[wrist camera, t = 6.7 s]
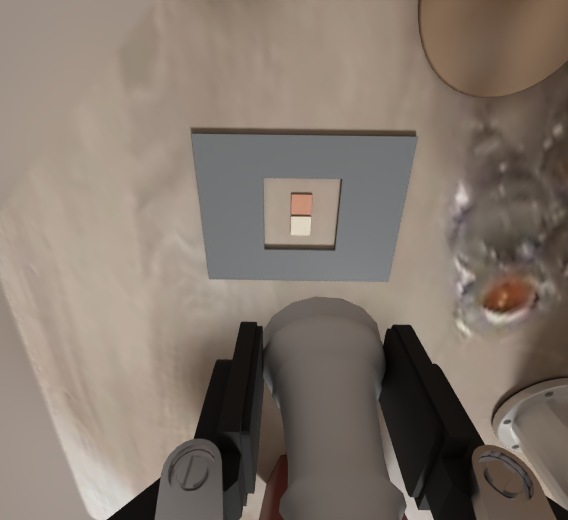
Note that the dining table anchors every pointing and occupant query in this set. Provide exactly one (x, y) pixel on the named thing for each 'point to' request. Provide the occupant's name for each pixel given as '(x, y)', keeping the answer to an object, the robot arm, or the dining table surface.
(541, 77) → the walnut coaster
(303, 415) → the rook chess piece
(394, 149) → the grey frame plate
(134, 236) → the dining table surface
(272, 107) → the dining table surface
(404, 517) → the bucket
